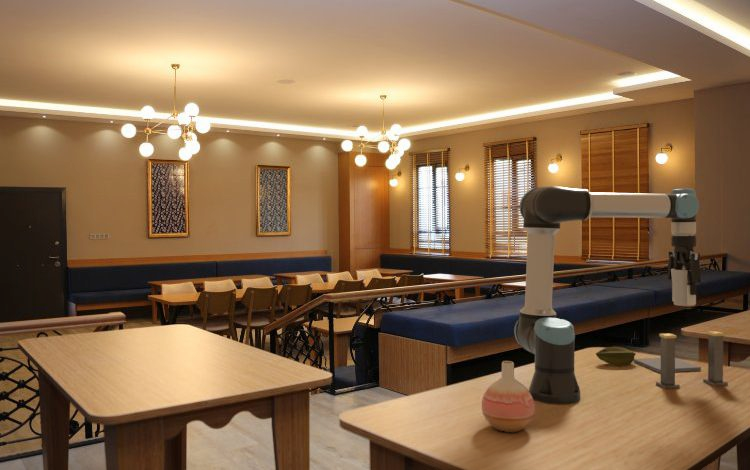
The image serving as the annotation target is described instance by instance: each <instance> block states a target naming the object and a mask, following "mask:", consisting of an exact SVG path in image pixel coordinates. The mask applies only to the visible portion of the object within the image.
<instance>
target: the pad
mask: <svg viewBox="0 0 750 470" xmlns="http://www.w3.org/2000/svg"><path fill="white" fill-rule="evenodd" d="M633 363H635V364H637V365H639V366H641V367H642V366H643V367H645V368H647V369H649V370H651V371H654V372H656V373H659V374H661V357H648V358H647V357H646V358H634V361H633ZM700 370H702V368H701V366H698V365H696V364H692V363H690V362H688V361H685V360H683V359H682V360H681V359H680V358H677V357H675V373H682V372H699V371H700Z"/></svg>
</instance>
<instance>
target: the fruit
mask: <svg viewBox="0 0 750 470" xmlns="http://www.w3.org/2000/svg"><path fill="white" fill-rule="evenodd" d="M595 355H596V358H598V359H599V360H601V361H603V362H604V363H606V364H609V365H612V366H615V367H627V366H629V365H631V364H632V363H634V359H635V356H636V355H637V354H636V352H634V351H631V350H629V349H627V348H625V347H620V346H609V347H605V348H602V349H601V350H599V351H597V352H596V353H595Z"/></svg>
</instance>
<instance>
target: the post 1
mask: <svg viewBox="0 0 750 470" xmlns="http://www.w3.org/2000/svg"><path fill="white" fill-rule="evenodd" d="M658 334H659V335H658V336H659V337H660V358H661V373H660V380H659V381H655V386H658V387H660V388H662V389H665V390H672V389H674V390H675V389H681V387H680V384H678V383H677V382H676V372H675V358H676V339H677V337H678V336H677V335H676V334H674V333H658Z"/></svg>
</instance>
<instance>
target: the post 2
mask: <svg viewBox="0 0 750 470" xmlns="http://www.w3.org/2000/svg"><path fill="white" fill-rule="evenodd" d="M706 335H708V337H707V338H708V340H707V341H708V345H707V346H708V349H707V351H708V352H707V357H708V359H707V361H708V362H707V367H708V368H707V369H708V370H707V378H703V380H702V381H703V383H705V384H708V385H710V386H712V387H721V386H722V387H723V386H728V384H729V382H728V381H726V380H724V374H723V373H724V337H725V335H726V334H725V332H720V331H717V330H716V331H714V330H713V331H706Z"/></svg>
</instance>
